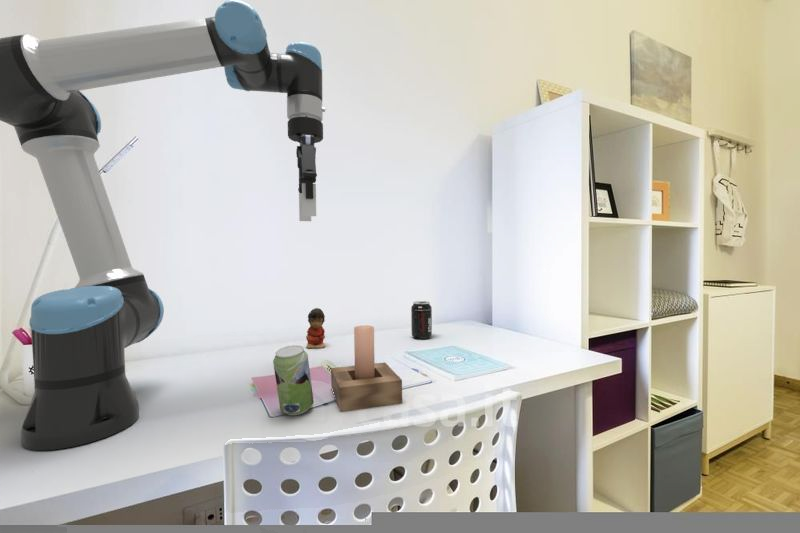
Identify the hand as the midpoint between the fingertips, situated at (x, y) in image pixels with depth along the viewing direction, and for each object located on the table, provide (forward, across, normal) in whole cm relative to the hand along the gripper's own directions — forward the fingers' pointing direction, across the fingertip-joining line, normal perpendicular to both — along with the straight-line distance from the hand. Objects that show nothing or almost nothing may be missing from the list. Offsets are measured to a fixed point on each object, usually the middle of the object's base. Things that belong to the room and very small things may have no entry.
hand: (307, 218), depth 83 cm
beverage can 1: (+37, -15, +4) cm, 40 cm away
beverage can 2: (+37, +32, -39) cm, 62 cm away
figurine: (+37, +31, -4) cm, 48 cm away
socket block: (+37, -12, -10) cm, 40 cm away
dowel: (+37, -12, -10) cm, 40 cm away
